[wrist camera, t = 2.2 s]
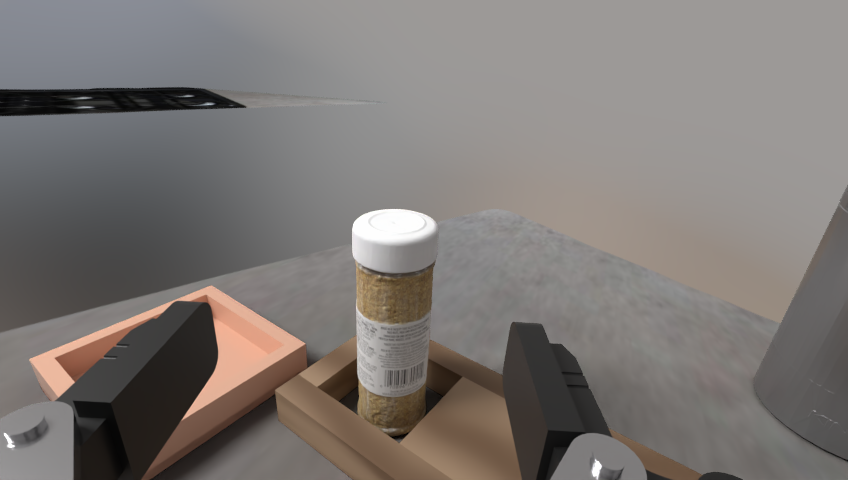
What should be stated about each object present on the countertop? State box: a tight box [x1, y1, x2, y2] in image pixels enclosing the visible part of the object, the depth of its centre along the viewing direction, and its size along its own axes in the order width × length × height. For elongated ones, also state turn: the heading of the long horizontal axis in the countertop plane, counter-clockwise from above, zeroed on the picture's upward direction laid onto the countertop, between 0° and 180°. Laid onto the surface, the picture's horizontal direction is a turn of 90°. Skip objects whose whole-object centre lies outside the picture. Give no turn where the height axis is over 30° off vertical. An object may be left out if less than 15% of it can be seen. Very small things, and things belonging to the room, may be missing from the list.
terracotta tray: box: [29, 286, 307, 480], centre depth 29 cm, size 12×12×2 cm
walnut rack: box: [275, 335, 702, 480], centre depth 24 cm, size 10×23×2 cm, turn 54°
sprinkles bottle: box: [352, 209, 439, 436], centre depth 25 cm, size 5×5×14 cm
